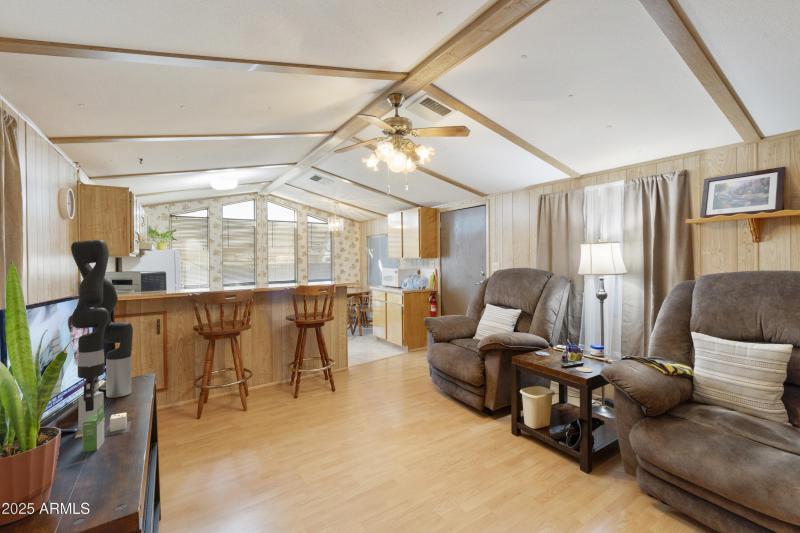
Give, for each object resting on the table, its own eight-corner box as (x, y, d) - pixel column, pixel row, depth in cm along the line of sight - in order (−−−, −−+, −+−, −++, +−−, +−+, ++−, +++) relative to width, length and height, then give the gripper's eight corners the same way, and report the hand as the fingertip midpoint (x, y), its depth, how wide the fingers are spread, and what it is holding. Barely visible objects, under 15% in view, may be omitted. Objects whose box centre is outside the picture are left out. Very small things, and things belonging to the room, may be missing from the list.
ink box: (90, 443, 124) (90, 404, 124) (104, 441, 126) (104, 402, 126) (82, 453, 118) (81, 411, 118) (97, 451, 120) (97, 409, 119)
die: (111, 426, 136) (111, 414, 136) (126, 424, 139) (126, 412, 139) (110, 431, 132) (110, 419, 132) (125, 428, 135) (125, 416, 135)
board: (82, 423, 140) (82, 421, 140) (105, 419, 143) (105, 417, 143) (74, 439, 127) (74, 437, 127) (100, 434, 131) (100, 432, 131)
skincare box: (87, 430, 132) (87, 397, 132) (77, 429, 133) (77, 396, 133) (104, 423, 138) (104, 391, 138) (94, 422, 139) (94, 390, 139)
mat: (108, 426, 137) (108, 425, 137) (131, 422, 141) (131, 421, 141) (104, 437, 129) (104, 436, 129) (129, 432, 133) (129, 431, 133)
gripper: (81, 359, 139) (81, 402, 139) (73, 369, 127) (74, 416, 127) (106, 356, 143) (107, 398, 143) (101, 365, 131) (102, 411, 131)
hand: (91, 406), depth 135 cm, fingers open, 8 cm apart
